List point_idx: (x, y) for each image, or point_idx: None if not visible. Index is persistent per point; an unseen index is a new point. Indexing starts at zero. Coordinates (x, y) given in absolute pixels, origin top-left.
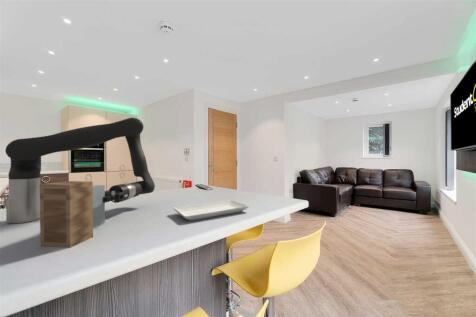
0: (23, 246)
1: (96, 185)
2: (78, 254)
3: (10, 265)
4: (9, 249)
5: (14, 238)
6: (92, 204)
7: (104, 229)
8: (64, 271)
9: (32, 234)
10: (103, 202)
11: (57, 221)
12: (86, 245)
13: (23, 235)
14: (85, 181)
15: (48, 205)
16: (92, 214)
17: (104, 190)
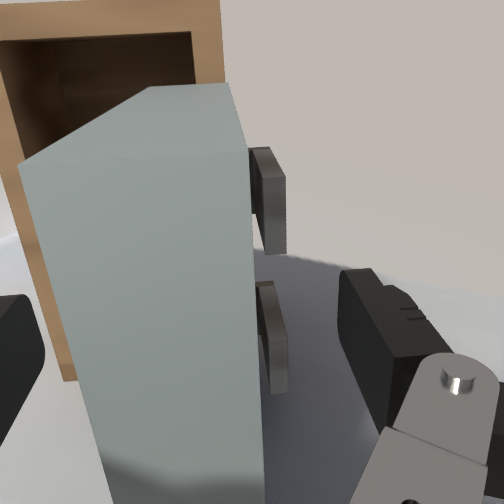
0: (292, 279)
1: (199, 135)
2: (29, 286)
3: None
4: (308, 264)
5: (448, 303)
6: (8, 197)
7: (55, 499)
8: (15, 247)
9: (449, 340)
10: (35, 359)
11: None
12: (40, 323)
13: (471, 325)
14: (16, 3)
15: None
16: (28, 261)
17: (58, 302)
